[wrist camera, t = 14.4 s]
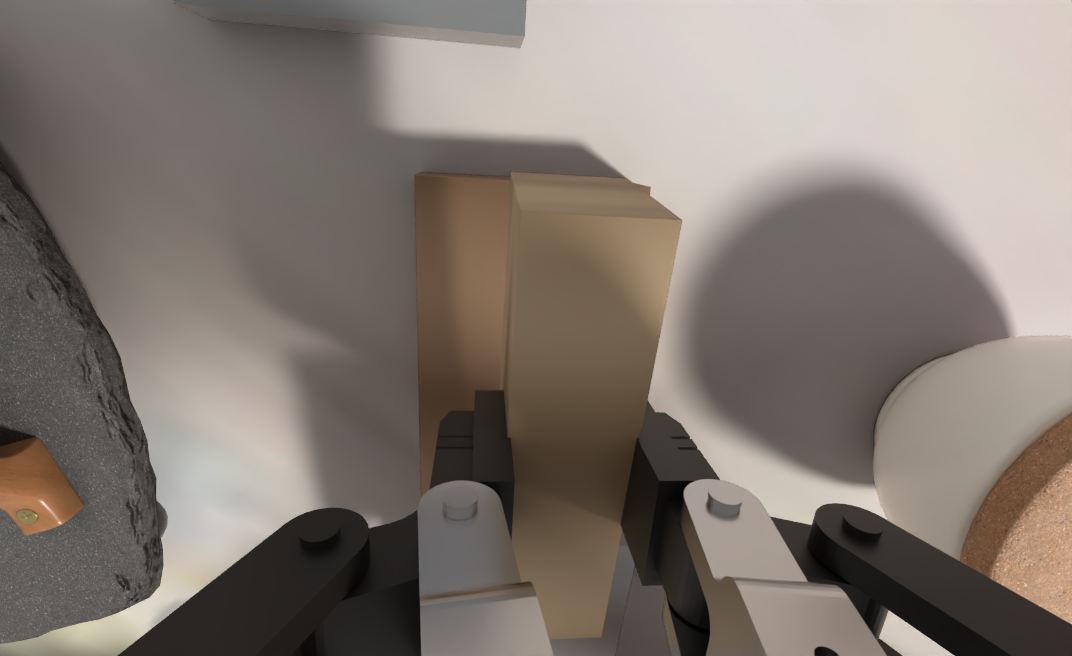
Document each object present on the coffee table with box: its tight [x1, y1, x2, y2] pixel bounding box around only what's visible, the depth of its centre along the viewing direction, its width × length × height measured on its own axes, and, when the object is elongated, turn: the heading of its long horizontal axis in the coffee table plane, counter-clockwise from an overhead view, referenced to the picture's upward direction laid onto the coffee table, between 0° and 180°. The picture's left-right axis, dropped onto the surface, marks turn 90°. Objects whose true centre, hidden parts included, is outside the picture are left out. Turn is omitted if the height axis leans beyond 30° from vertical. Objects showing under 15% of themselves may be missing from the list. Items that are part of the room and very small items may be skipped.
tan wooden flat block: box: [415, 172, 651, 498], centre depth 19 cm, size 16×7×2 cm, turn 177°
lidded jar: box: [873, 335, 1072, 624], centre depth 18 cm, size 11×11×9 cm
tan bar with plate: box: [500, 172, 682, 656], centre depth 13 cm, size 16×6×4 cm, turn 176°
